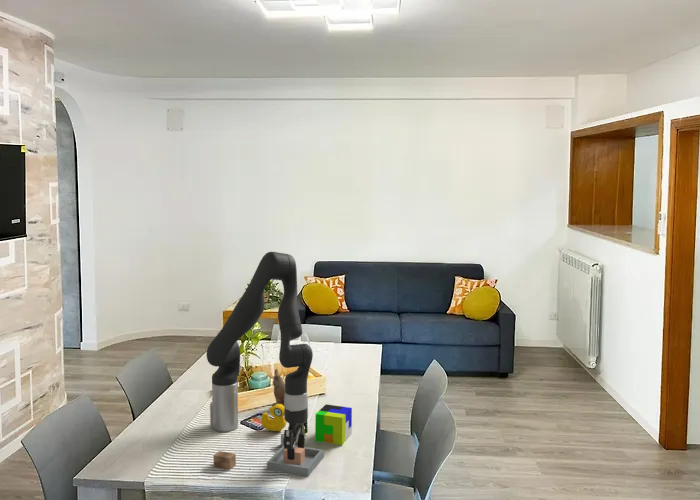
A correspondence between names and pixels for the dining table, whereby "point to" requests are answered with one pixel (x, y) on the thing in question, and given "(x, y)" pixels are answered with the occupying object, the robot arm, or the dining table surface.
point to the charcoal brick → (283, 440)
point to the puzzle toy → (333, 424)
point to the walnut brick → (224, 460)
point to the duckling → (278, 420)
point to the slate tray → (304, 469)
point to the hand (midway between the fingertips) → (296, 453)
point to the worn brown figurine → (278, 389)
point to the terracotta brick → (298, 456)
